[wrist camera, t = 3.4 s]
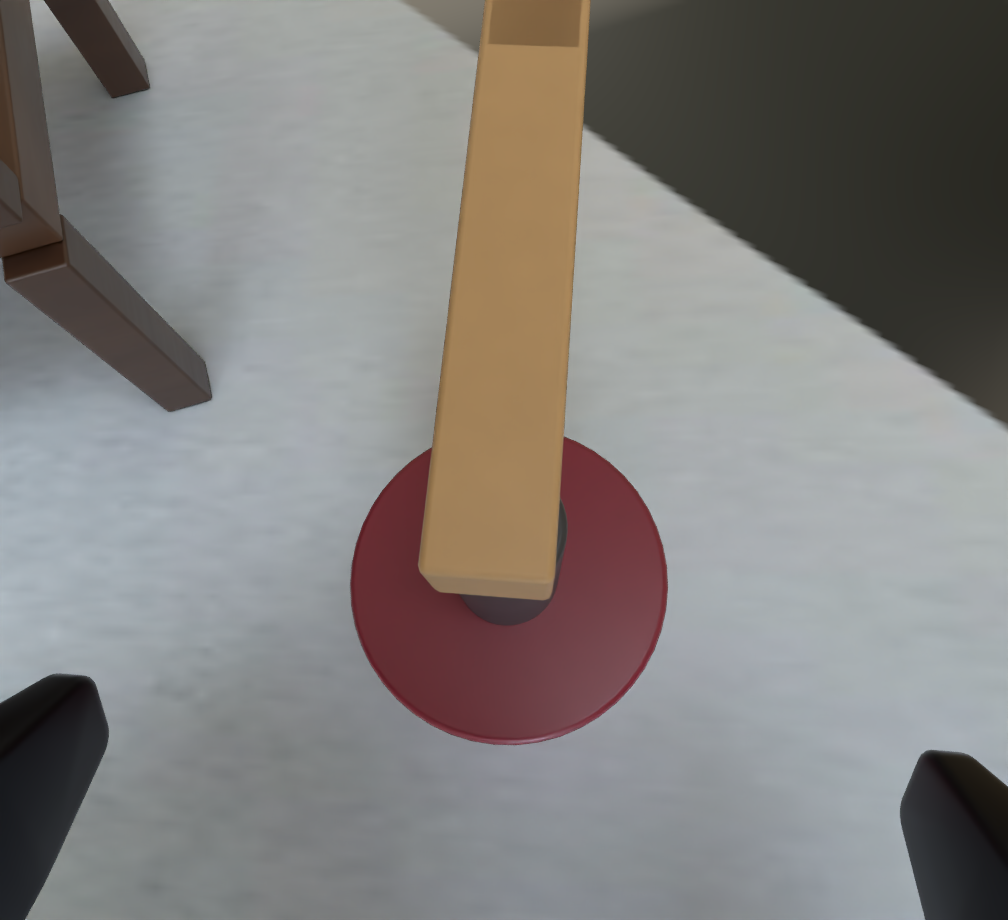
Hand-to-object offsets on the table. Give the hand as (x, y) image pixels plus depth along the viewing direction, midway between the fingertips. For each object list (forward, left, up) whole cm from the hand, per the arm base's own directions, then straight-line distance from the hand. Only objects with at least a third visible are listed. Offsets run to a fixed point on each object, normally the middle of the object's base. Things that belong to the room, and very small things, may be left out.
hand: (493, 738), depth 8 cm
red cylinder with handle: (+3, -2, -9) cm, 10 cm away
